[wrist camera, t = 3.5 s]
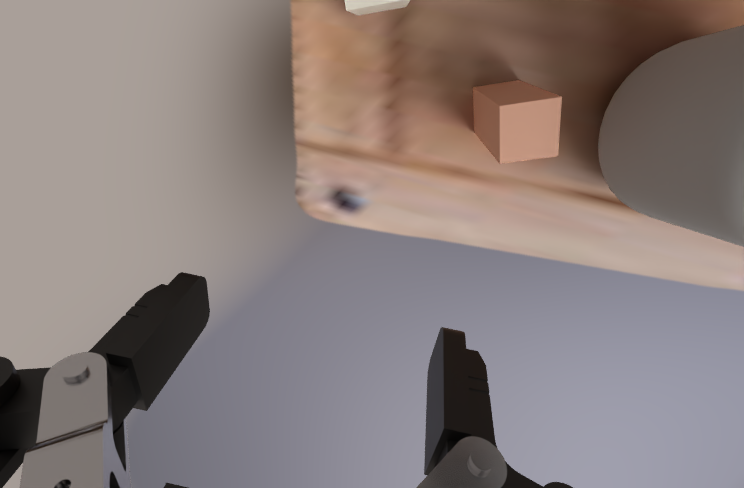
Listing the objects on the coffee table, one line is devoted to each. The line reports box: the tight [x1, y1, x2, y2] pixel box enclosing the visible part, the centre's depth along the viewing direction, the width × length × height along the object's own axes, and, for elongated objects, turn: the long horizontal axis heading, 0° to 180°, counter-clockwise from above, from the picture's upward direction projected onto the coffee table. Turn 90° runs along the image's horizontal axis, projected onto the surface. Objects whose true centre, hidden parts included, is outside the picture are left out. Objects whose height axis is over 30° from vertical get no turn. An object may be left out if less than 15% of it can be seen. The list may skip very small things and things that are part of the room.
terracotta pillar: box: [473, 80, 562, 164], centre depth 32 cm, size 4×4×10 cm
